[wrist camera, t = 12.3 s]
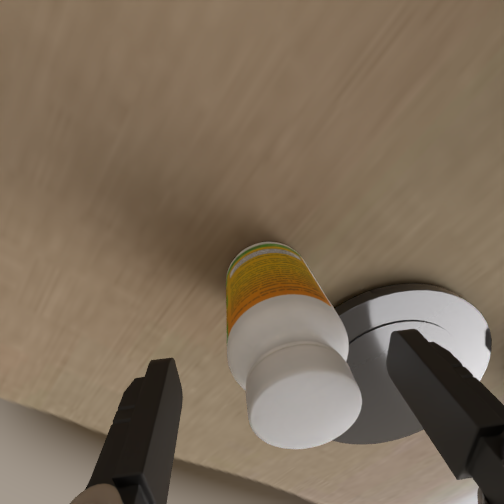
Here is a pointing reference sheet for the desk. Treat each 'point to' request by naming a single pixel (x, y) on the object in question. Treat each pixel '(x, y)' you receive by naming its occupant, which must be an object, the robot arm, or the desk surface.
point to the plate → (377, 343)
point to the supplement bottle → (288, 349)
